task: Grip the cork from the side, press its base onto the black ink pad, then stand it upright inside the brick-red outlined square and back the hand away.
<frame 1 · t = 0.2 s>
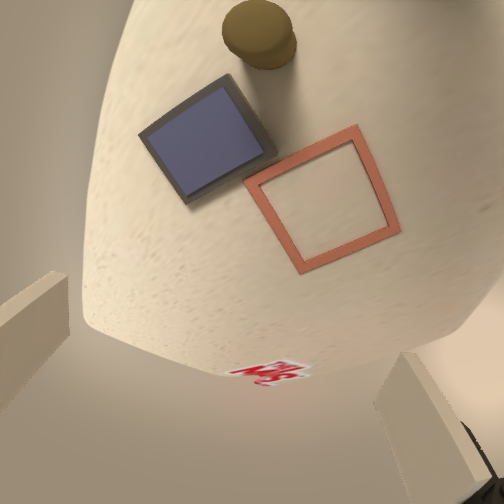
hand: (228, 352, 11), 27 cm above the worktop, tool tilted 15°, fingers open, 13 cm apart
ink pad: (207, 139, 33), on the worktop
cork: (266, 43, 27), on the worktop
marked square: (327, 204, 35), on the worktop
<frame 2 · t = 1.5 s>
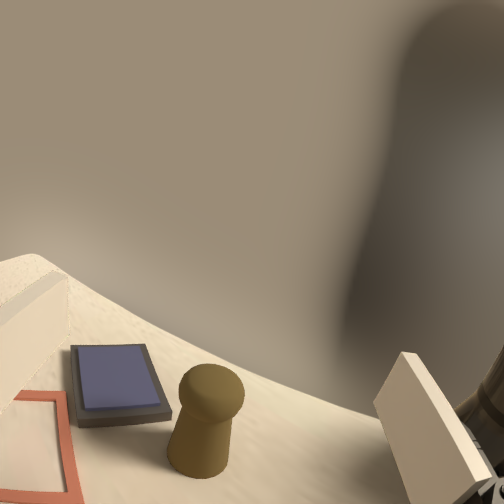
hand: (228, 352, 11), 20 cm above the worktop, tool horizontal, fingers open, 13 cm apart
ink pad: (115, 386, 31), on the worktop
cork: (197, 455, 26), on the worktop
marked square: (7, 441, 18), on the worktop
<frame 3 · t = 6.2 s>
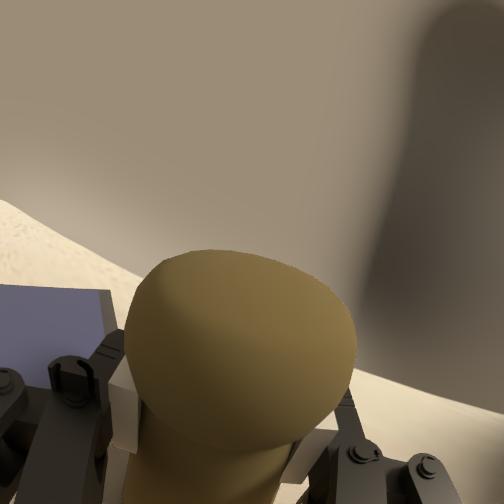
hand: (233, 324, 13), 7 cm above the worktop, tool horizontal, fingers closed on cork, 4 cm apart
ink pad: (44, 354, 15), on the worktop
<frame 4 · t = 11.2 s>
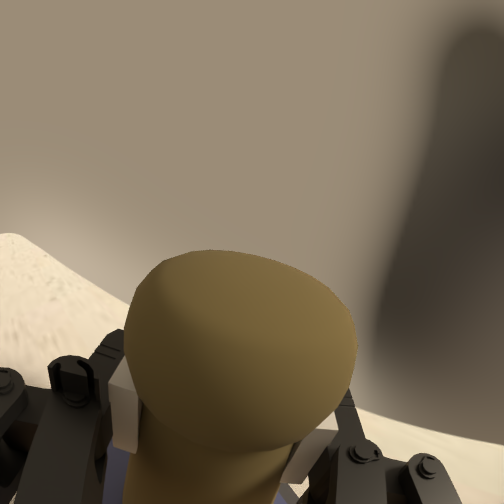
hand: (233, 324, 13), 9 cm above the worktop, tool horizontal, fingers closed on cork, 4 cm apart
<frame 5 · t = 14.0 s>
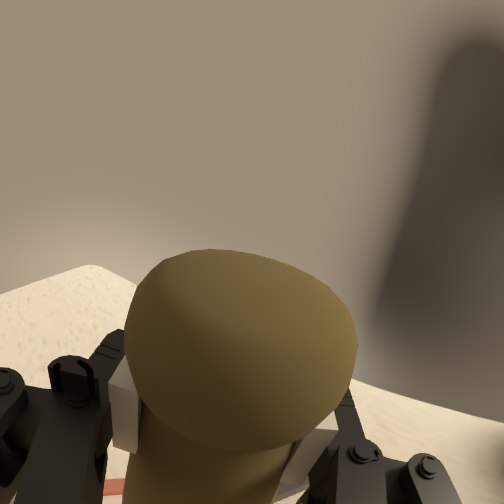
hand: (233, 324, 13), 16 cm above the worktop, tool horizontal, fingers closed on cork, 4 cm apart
ink pad: (283, 437, 26), on the worktop
when the fingers open (7 cm above the worktop, at t = 16.1 s): cork moves 3 cm, resting in marked square.
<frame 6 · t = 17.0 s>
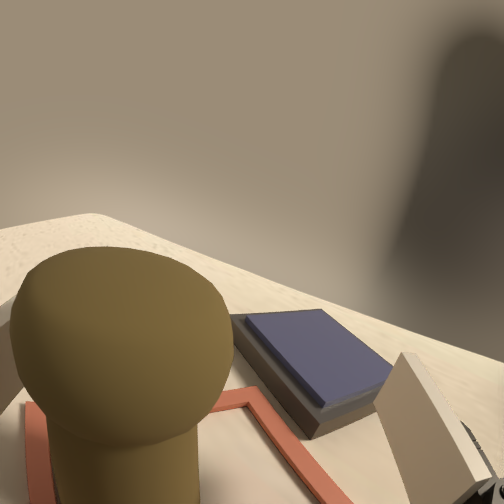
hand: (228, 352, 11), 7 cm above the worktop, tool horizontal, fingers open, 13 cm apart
ink pad: (315, 366, 23), on the worktop
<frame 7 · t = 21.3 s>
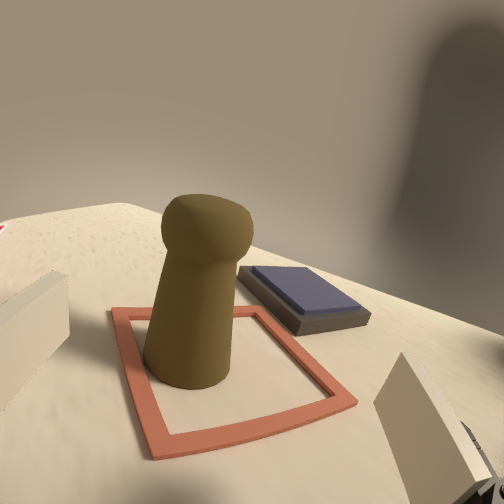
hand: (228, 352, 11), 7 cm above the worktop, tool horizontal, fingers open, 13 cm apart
ink pad: (300, 301, 35), on the worktop
cork: (186, 361, 21), resting in marked square
marked square: (223, 361, 21), on the worktop
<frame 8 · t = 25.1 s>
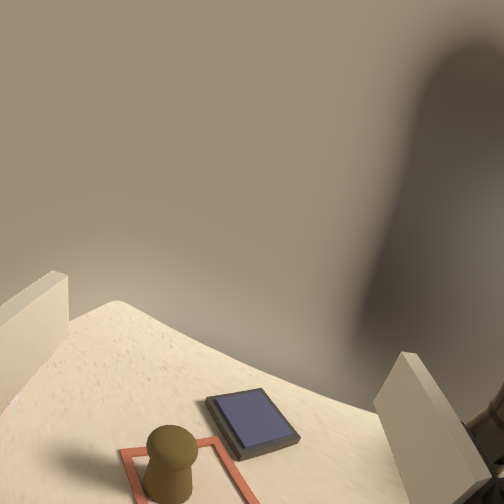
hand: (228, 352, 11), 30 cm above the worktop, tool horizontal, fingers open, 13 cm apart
ink pad: (250, 424, 43), on the worktop
cork: (167, 486, 29), resting in marked square
marked square: (189, 486, 30), on the worktop
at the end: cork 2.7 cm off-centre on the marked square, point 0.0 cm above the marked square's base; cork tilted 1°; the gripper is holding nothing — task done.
